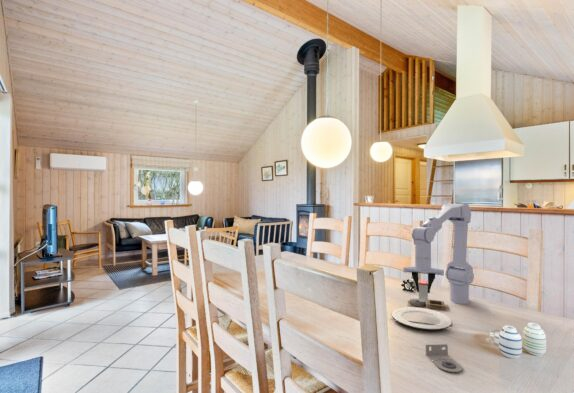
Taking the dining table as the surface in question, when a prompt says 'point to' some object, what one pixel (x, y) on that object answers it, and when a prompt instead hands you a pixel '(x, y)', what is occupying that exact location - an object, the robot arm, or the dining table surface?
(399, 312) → the plate
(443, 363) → the bracket
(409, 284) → the valve
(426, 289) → the pin
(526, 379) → the dining table surface
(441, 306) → the board
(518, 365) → the dining table surface
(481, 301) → the dining table surface
